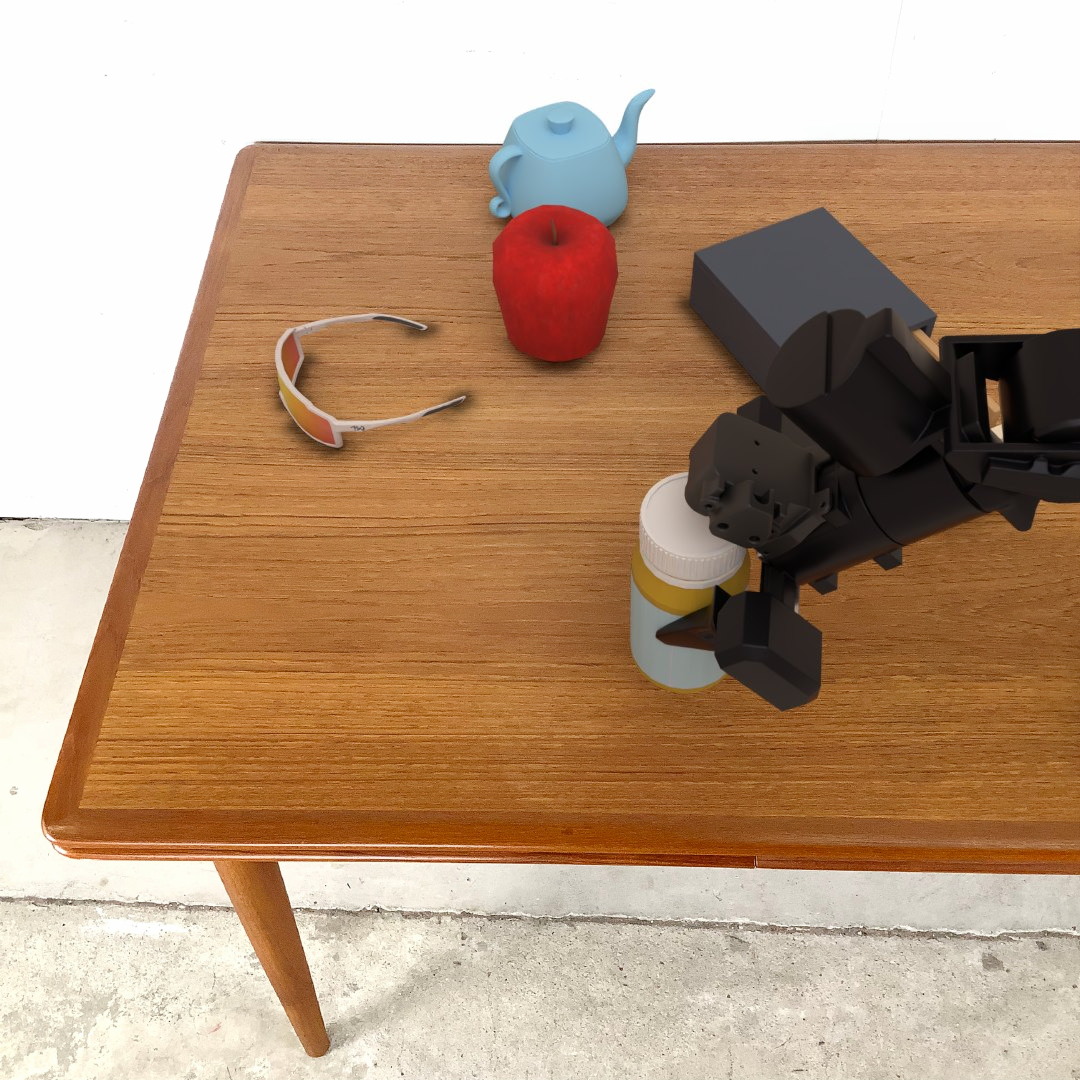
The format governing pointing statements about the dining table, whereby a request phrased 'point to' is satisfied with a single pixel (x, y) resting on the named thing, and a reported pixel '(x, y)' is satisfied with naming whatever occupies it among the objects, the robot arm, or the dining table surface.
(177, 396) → the dining table surface
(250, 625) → the dining table surface
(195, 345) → the dining table surface
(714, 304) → the cabinet
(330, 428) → the sunglasses
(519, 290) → the apple
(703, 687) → the bottle
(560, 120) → the teapot
